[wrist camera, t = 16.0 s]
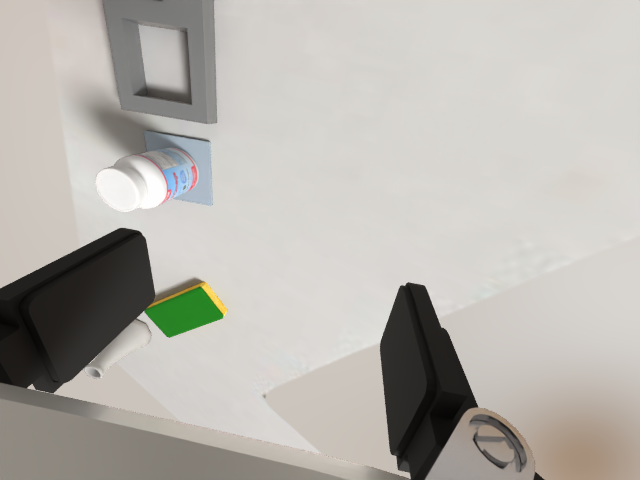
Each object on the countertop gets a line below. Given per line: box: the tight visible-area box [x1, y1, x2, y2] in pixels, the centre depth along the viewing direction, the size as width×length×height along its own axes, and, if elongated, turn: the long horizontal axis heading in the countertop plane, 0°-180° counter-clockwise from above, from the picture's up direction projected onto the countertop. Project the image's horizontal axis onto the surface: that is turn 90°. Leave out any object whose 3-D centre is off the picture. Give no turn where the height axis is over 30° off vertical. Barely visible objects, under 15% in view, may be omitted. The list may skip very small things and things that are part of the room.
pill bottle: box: [95, 148, 199, 212], centre depth 33 cm, size 6×6×11 cm
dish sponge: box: [145, 282, 227, 338], centre depth 49 cm, size 7×14×2 cm, turn 117°
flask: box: [84, 319, 152, 379], centre depth 50 cm, size 7×7×10 cm
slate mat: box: [144, 131, 213, 206], centre depth 38 cm, size 9×9×1 cm
